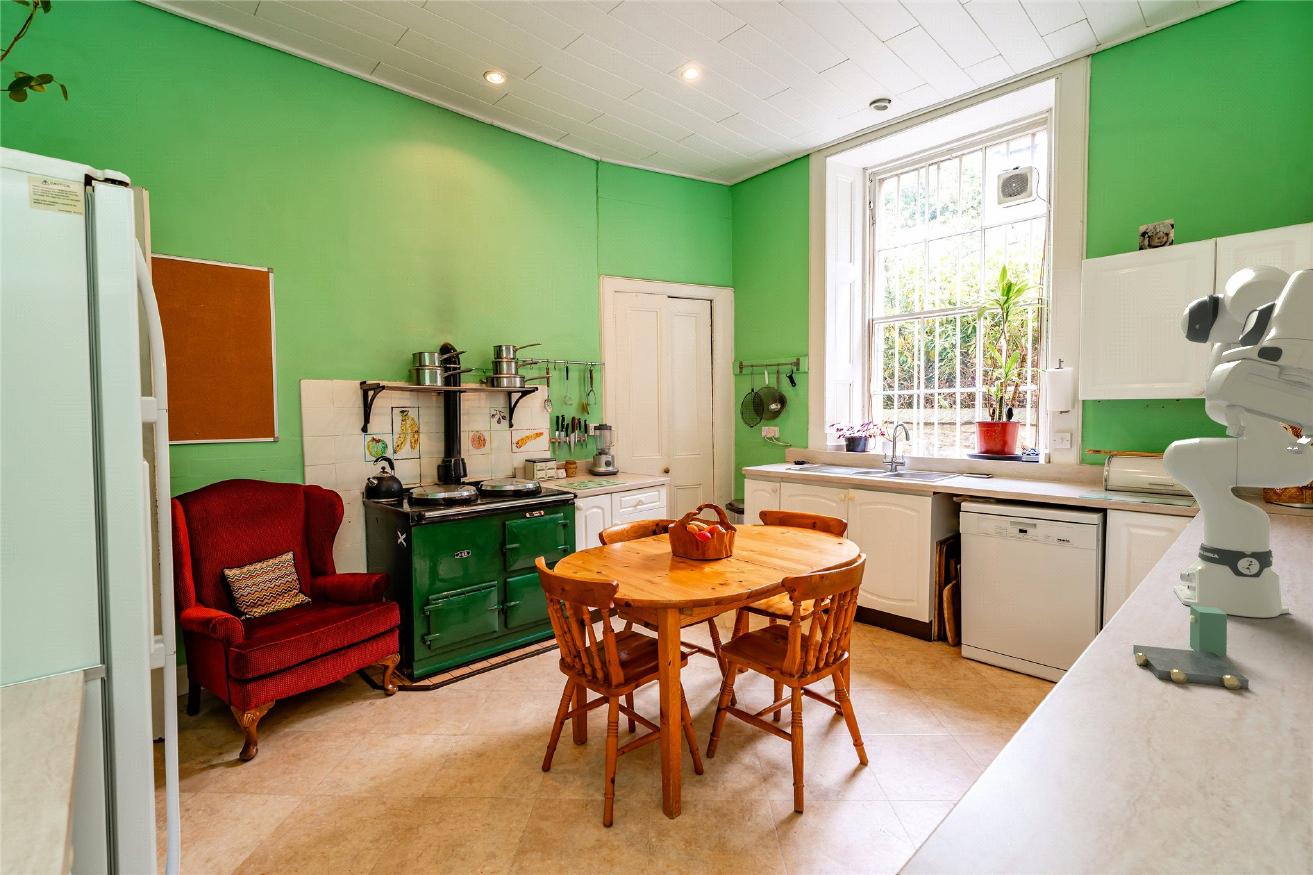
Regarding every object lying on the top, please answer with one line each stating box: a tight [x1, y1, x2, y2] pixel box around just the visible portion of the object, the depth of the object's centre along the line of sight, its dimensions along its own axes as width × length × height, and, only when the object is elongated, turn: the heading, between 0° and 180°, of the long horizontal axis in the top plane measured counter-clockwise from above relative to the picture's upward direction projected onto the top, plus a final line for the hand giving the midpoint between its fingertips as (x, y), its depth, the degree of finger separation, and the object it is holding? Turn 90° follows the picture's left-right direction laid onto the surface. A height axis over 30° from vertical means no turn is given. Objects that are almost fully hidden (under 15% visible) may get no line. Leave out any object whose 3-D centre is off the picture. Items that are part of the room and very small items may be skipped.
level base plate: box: [1132, 644, 1249, 691], centre depth 108 cm, size 13×13×2 cm
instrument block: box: [1189, 605, 1228, 658], centre depth 116 cm, size 4×5×8 cm
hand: (1264, 444), depth 101 cm, fingers open, 8 cm apart
